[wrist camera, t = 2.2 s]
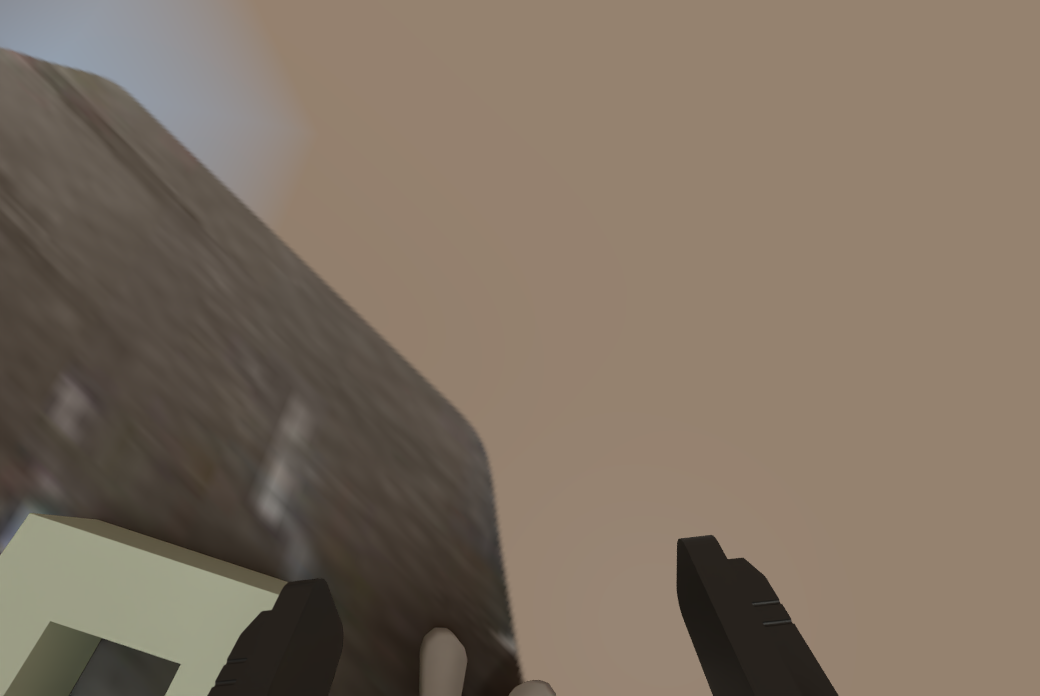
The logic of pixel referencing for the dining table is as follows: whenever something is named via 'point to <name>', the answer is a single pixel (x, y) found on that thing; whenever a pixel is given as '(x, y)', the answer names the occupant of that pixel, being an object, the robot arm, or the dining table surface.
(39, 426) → the dining table surface
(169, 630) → the socket block
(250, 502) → the dining table surface
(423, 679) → the bunny figurine
